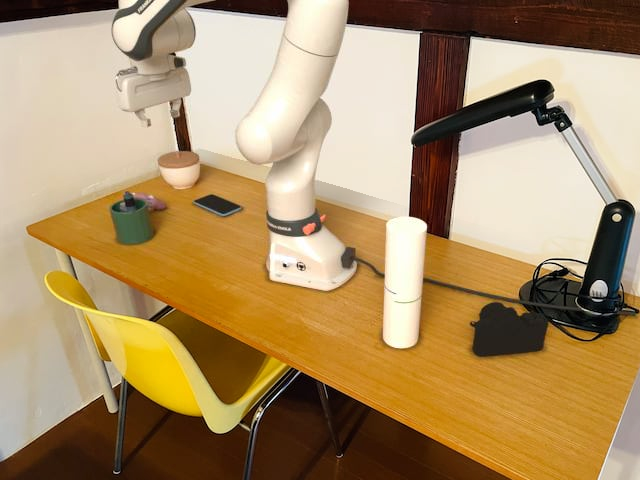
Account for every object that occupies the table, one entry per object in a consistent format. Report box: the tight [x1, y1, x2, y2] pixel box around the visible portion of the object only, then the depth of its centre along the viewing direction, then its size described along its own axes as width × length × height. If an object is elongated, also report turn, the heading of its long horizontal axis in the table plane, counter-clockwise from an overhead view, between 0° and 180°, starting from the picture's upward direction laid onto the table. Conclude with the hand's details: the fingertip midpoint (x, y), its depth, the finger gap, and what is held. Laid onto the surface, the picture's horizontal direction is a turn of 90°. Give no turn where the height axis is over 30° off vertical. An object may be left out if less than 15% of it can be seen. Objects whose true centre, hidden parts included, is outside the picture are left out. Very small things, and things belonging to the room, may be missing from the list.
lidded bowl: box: [157, 150, 201, 190], centre depth 169 cm, size 13×13×11 cm
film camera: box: [469, 301, 550, 358], centre depth 104 cm, size 15×10×9 cm, turn 98°
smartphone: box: [193, 193, 243, 217], centre depth 158 cm, size 7×1×15 cm
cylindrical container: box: [382, 216, 428, 349], centre depth 100 cm, size 7×7×25 cm
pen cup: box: [108, 198, 155, 246], centre depth 140 cm, size 9×9×9 cm
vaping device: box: [120, 190, 137, 213], centre depth 139 cm, size 3×5×12 cm, turn 58°
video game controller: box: [131, 192, 167, 213], centre depth 155 cm, size 10×5×7 cm, turn 73°
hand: (161, 121), depth 134 cm, fingers open, 8 cm apart
